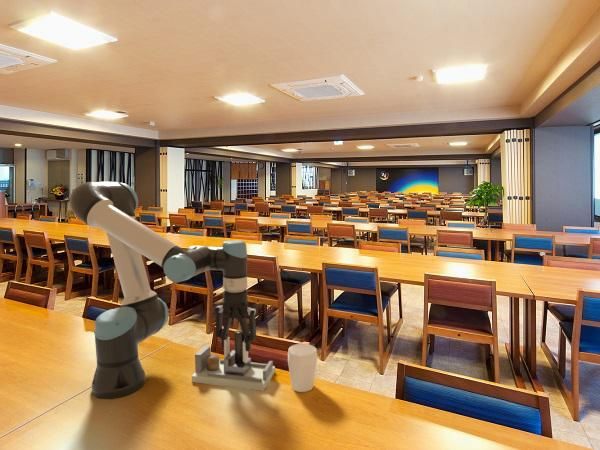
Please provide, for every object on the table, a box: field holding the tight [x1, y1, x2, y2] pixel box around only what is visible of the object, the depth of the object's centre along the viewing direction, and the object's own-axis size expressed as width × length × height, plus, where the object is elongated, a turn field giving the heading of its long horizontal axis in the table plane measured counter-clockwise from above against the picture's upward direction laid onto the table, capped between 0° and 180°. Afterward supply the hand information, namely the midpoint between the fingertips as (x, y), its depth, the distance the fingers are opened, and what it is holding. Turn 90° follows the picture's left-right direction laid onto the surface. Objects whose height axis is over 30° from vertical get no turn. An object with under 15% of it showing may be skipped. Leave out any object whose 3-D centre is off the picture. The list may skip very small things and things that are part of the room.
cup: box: [287, 343, 318, 393], centre depth 117 cm, size 9×9×12 cm
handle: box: [223, 329, 252, 376], centre depth 122 cm, size 7×7×13 cm
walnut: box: [207, 353, 220, 371], centre depth 125 cm, size 4×4×4 cm
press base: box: [191, 344, 276, 392], centre depth 123 cm, size 24×12×8 cm, turn 77°
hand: (236, 358), depth 123 cm, fingers closed on handle, 6 cm apart
